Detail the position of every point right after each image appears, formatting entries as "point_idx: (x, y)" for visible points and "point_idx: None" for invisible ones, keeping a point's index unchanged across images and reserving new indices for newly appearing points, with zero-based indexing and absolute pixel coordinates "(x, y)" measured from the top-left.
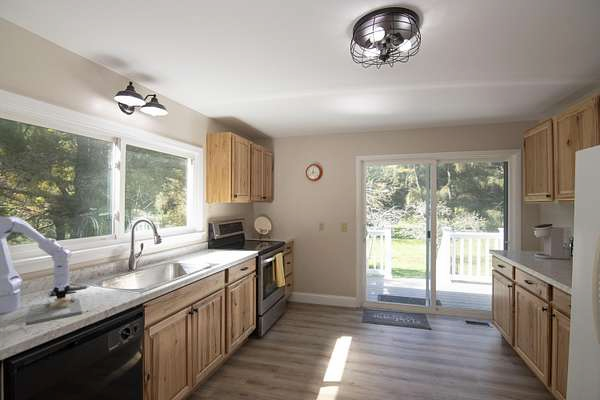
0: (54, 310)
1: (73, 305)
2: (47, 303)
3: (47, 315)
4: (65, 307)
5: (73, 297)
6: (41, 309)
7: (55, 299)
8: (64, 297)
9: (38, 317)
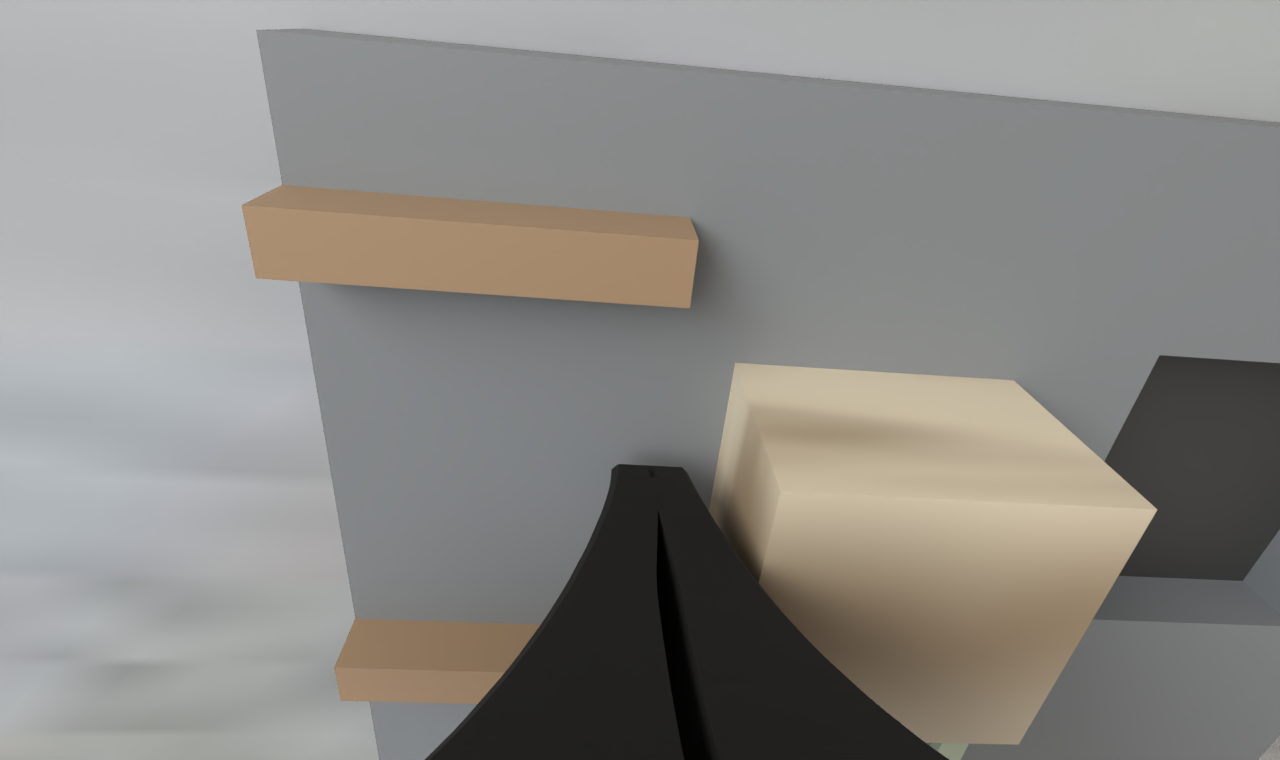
0: None
1: (1033, 276)
2: None
3: (1211, 662)
4: None
5: (390, 232)
6: None
7: None
8: (805, 573)
9: (1166, 735)
